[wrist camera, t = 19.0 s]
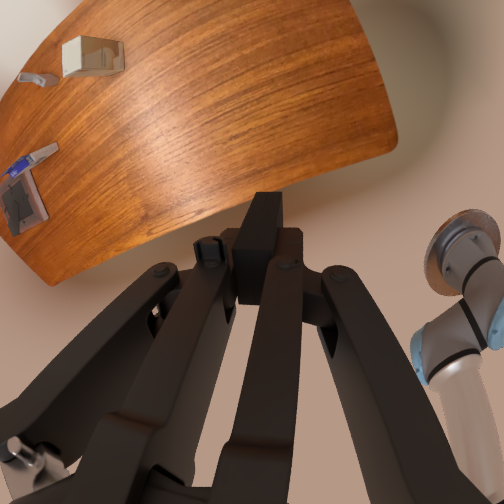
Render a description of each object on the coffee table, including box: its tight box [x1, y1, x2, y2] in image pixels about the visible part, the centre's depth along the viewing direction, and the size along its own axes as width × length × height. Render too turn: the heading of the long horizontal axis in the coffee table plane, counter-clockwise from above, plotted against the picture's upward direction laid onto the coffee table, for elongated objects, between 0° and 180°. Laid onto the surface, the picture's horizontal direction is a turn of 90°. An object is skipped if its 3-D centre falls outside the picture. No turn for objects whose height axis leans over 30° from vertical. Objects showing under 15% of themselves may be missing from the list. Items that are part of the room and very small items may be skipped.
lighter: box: [18, 73, 60, 87], centre depth 34 cm, size 7×2×8 cm, turn 55°
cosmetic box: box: [62, 35, 124, 78], centre depth 30 cm, size 6×4×12 cm
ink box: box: [1, 142, 59, 179], centre depth 42 cm, size 12×2×12 cm, turn 105°
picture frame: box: [0, 169, 49, 237], centre depth 54 cm, size 16×2×22 cm
